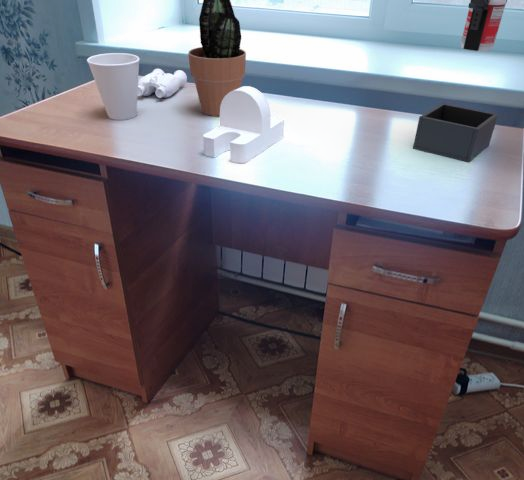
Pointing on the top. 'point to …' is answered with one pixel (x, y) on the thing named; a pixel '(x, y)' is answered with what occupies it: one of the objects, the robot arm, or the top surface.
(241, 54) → the potted plant
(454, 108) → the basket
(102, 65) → the cup
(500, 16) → the pill bottle
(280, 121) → the bracket
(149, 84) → the binoculars
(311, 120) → the top surface
